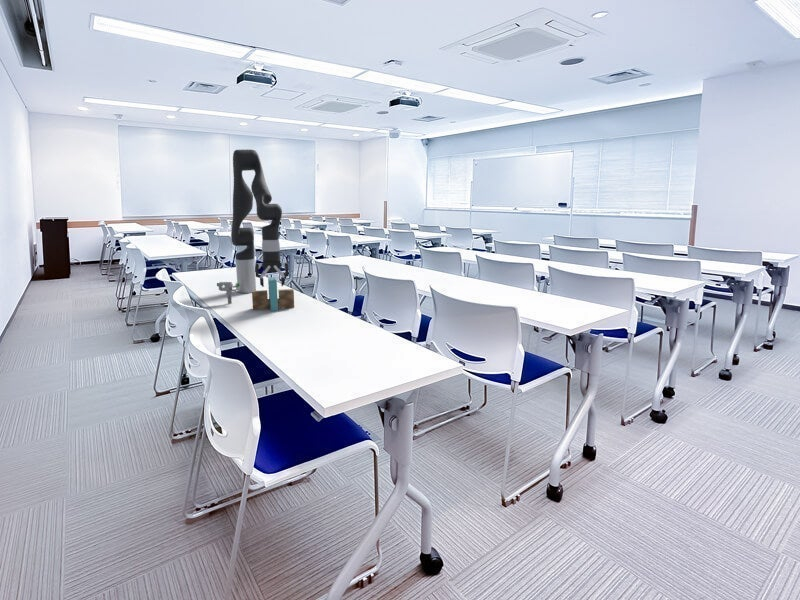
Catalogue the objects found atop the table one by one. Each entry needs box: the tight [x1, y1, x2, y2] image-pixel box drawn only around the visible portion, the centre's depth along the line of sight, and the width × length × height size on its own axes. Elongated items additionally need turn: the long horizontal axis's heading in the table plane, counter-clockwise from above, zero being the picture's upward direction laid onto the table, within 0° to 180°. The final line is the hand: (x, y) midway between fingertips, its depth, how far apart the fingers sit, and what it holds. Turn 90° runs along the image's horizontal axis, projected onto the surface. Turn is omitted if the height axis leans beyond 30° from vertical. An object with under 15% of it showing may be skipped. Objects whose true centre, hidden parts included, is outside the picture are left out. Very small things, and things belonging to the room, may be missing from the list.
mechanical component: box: [216, 281, 240, 305], centre depth 221 cm, size 3×10×10 cm, turn 89°
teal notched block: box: [267, 276, 279, 312], centre depth 213 cm, size 12×3×13 cm, turn 18°
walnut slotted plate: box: [251, 288, 295, 311], centre depth 214 cm, size 18×3×8 cm, turn 108°
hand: (272, 286), depth 213 cm, fingers open, 8 cm apart
